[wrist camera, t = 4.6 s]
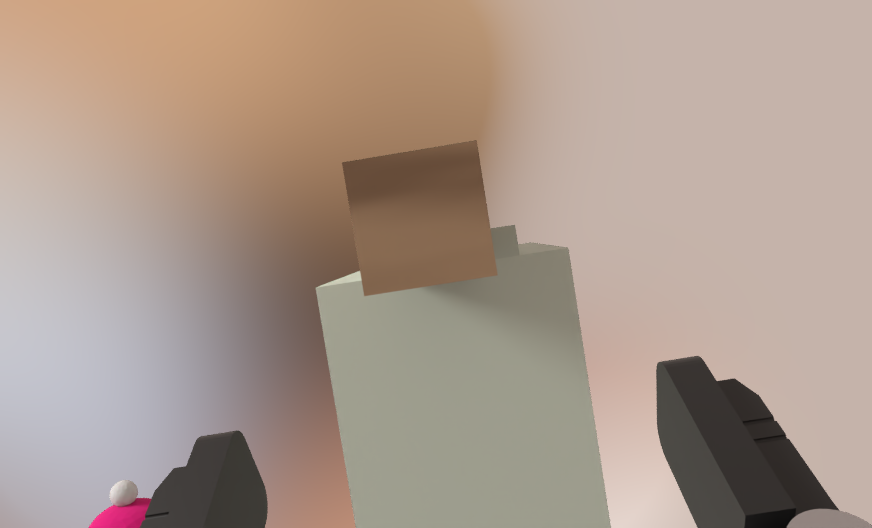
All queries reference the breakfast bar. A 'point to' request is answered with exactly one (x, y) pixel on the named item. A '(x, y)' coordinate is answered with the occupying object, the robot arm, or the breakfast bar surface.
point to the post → (467, 398)
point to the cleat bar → (420, 218)
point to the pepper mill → (123, 508)
